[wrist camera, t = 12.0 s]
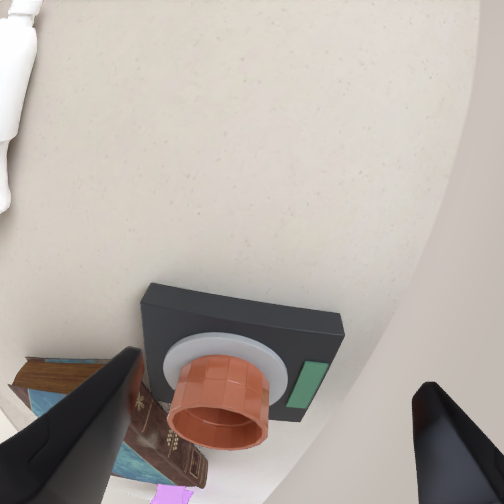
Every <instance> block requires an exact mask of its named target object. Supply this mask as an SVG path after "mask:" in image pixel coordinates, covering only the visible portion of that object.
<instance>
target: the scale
mask: <svg viewBox="0 0 504 504" xmlns="http://www.w3.org/2000/svg"><path fill="white" fill-rule="evenodd" d="M140 304H141V316H142V326H143V336H144V345H145V353H146V361H147V369H148V376H149V383H150V389H151V395H152V399H154V400H158V401H162V402H167V403H171V402H172V398H173V395H174V391H175V388H176V384H177V381H178V377H179V375H180V372H181V369H182V368H183V367H184V366H185V365H187V364H188V363H190V362H191V361H193V360H195V359H197V358H199V357H202V356H206V355H215V354H217V355H229V356H234V357H238V358H241V359H243V360H246V361H248V362H250V363H251V364H253V365H254V366H256V367H257V368H258V369H259V370H260V371H261V372H262V373H263V374H264V376H265V377H266V379H267V380H268V382H269V384H270V390H269V416H268V420H278V421H290V422H301V420H302V418H303V416H304V415H305V413H306V411H307V409H308V407H309V406H310V404H311V402H312V400H313V398H314V396H315V395H316V393H317V391H318V389H319V387H320V385H321V383H322V381H323V379H324V377H325V375H326V373H327V371H328V370H329V368H330V366H331V364H332V361H333V359H334V357H335V355H336V353H337V351H338V349H339V347H340V345H341V343H342V341H343V339H344V336H345V333H344V329H343V324H342V320H341V316H340V313H333V312H325V311H318V310H311V309H304V308H296V307H290V306H283V305H276V304H270V303H263V302H257V301H251V300H244V299H238V298H232V297H226V296H221V295H215V294H209V293H203V292H198V291H192V290H187V289H182V288H176V287H171V286H166V285H161V284H156V283H151V284H150V286H149V288H148V289H147V291H146V293H145V295H144V297H143V298H142V300H141V302H140Z"/></svg>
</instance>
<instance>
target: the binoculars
mask: <svg viewBox="0 0 504 504" xmlns="http://www.w3.org/2000/svg"><path fill="white" fill-rule="evenodd" d="M42 3H43V0H13V2H12V4H11V7H10V9H9V11H8V13H9V14H8V17H7V19H0V213H2V212H4V211H5V210H7V209H8V208H9V206H10V204H11V193H10V189H9V186H8V173H7V150H8V145H9V141H10V140H11V139H12V138H14V137H15V136H16V135H17V133H18V128H19V122H20V117H21V112H22V107H23V103H24V98H25V94H26V90H27V86H28V82H29V78H30V74H31V71H32V67H33V64H34V61H35V57H36V54H37V36H36V31H35V28H32V26H33V24H34V18H35V15H38V13H39V10H40V8H41V5H42Z"/></svg>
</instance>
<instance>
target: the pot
mask: <svg viewBox="0 0 504 504" xmlns="http://www.w3.org/2000/svg"><path fill="white" fill-rule="evenodd" d="M269 390H270V384H269V382H268V380H267V379H266V377H265V376H264V374H263V373H262V372H261V371H260V370H259V369H258V368H257V367H256V366H254V365H253V364H251V363H250V362H248V361H246V360H243V359H241V358H238V357H234V356H229V355H217V354H215V355H206V356H202V357H199V358H197V359H195V360H193V361H191V362H190V363H188V364H187V365H185V366H184V367H183V368H182V369H181V372H180V375H179V377H178V381H177V384H176V388H175V391H174V395H173V398H172V402H171V405H170V409H169V412H168V416H167V422H168V424H169V426H170V428H171V430H173V431H174V432H175V433H176V434H177V435H179V436H180V437H181V438H183V439H185V440H187V441H189V442H191V443H194V444H196V445H199V446H203V447H207V448H211V449H218V450H229V451H230V450H231V451H232V450H242V449H248V448H251V447H254V446H257V445H260V444H261V443H262V442H263V441H264V440H265V439H266V438H267V437H268V416H269Z"/></svg>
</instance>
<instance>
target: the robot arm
mask: <svg viewBox="0 0 504 504" xmlns="http://www.w3.org/2000/svg"><path fill="white" fill-rule="evenodd" d="M143 373H144V361H143V354H142V350H141V349H139V348H136V347H132V346H128V347H126V348H125V349H124V350H122V351H121V352H120V353H119V354H117V355H116V356H115V357H114V358H112V359H111V360H110V361H109V362H107V363H106V364H105V365H104V366H102V367H101V368H100V369H99V370H97V371H96V372H95V373H94V374H92V375H91V376H90V377H89V378H88V379H86V380H85V381H84V382H83V383H81V384H80V385H79V386H78V387H76V388H75V389H74V390H73V391H71V392H70V393H69V394H68V395H66V396H65V397H64V398H63V399H61V400H60V401H59V402H58V403H56V404H55V405H54V406H53V407H51V408H50V409H49V410H48V411H47V413H44V414H43V415H41V416H40V417H39V418H38V419H36V420H35V421H34V422H32V423H31V424H30V425H28V426H27V427H26V428H24V429H23V430H21V431H20V432H18V433H17V434H15V435H14V436H12V437H10V438H9V439H7V440H6V441H4V442H2V443H1V444H0V504H101V501H102V498H103V495H104V492H105V489H106V487H107V484H108V481H109V478H110V475H111V472H112V470H113V467H114V464H115V461H116V459H117V456H118V453H119V450H120V448H121V445H122V442H123V440H124V437H125V434H126V432H127V429H128V426H129V424H130V421H131V418H132V415H133V412H134V408H135V404H136V400H137V396H138V392H139V388H140V384H141V381H142V377H143ZM412 417H413V442H414V451H415V460H416V470H417V483H418V498H419V504H504V455H503V454H502V453H501V452H500V451H499V449H498V448H497V447H495V445H494V444H493V443H492V442H491V441H490V439H488V437H487V436H486V435H485V434H484V433H483V432H482V431H481V430H480V428H479V427H478V426H477V425H476V424H475V423H474V422H473V421H472V420H471V419H470V418H469V417H468V415H467V414H465V412H464V411H463V410H462V409H461V408H460V407H459V406H458V405H457V404H456V403H455V402H454V401H453V400H452V399H451V397H450V396H449V395H448V394H446V392H445V391H444V390H443V389H442V388H441V387H440V386H439V385H438V384H437V383H436V382H425V383H423V384H422V386H421V387H420V388H419V389H418V391H417V392H416V393H415V395H414V396H413V398H412Z"/></svg>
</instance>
